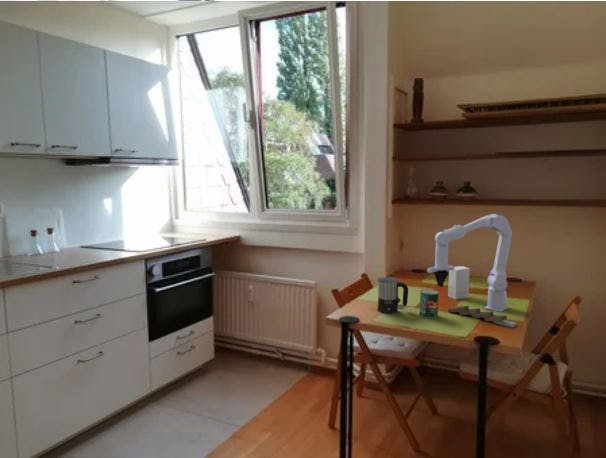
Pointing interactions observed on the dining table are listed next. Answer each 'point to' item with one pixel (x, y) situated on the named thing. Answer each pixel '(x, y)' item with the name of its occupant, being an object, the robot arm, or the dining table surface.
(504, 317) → the domino
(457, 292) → the skincare box
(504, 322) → the domino
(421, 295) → the canned tomato
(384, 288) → the milk frother
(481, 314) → the domino
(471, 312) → the domino
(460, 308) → the domino
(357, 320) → the dining table surface
